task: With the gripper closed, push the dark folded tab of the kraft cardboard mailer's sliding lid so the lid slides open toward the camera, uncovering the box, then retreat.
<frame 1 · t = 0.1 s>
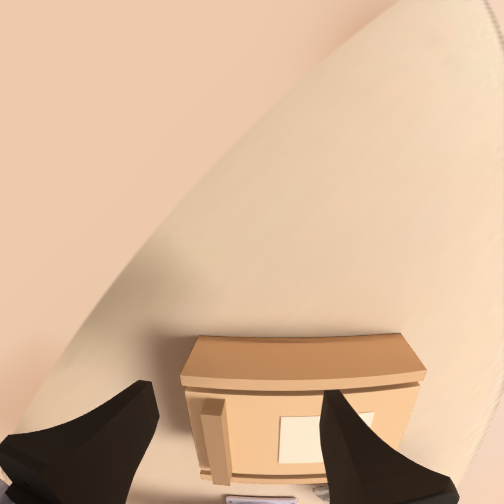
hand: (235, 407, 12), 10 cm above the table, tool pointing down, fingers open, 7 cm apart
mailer: (299, 396, 23), on the table
lid: (302, 446, 17), point 6 cm above the table, slide at 0.0 cm
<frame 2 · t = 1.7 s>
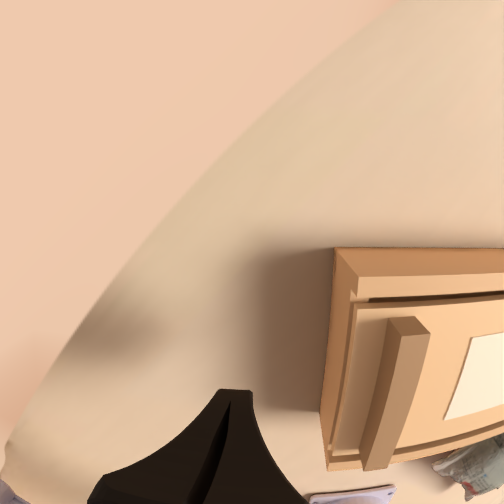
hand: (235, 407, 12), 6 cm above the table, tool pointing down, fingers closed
packaged food: (477, 444, 19), on the table
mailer: (441, 334, 16), on the table
lid: (484, 382, 11), point 6 cm above the table, slide at 0.0 cm
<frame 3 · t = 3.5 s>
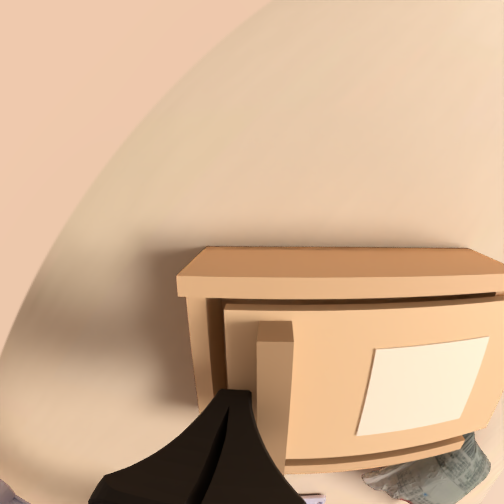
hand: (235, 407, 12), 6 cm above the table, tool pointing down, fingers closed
packaged food: (427, 457, 19), on the table
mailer: (343, 342, 17), on the table
lid: (399, 400, 11), point 6 cm above the table, slide at 1.6 cm, touching gripper
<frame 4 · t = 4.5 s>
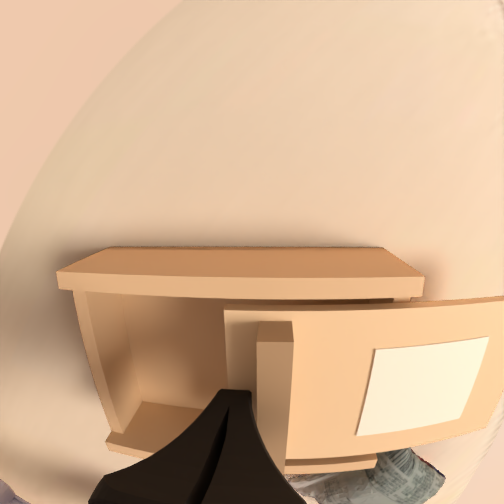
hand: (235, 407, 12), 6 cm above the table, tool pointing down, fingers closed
packaged food: (370, 466, 20), on the table
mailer: (242, 342, 17), on the table
lid: (399, 400, 11), point 6 cm above the table, slide at 7.4 cm, touching gripper
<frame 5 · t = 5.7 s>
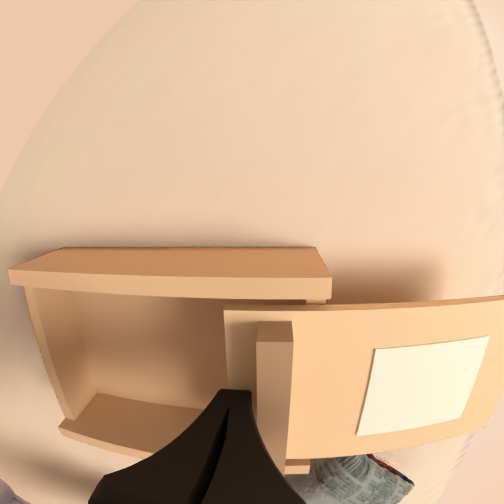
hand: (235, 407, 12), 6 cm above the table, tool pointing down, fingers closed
packaged food: (331, 468, 20), on the table
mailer: (180, 339, 18), on the table
lid: (400, 399, 11), point 6 cm above the table, slide at 11.0 cm, touching gripper
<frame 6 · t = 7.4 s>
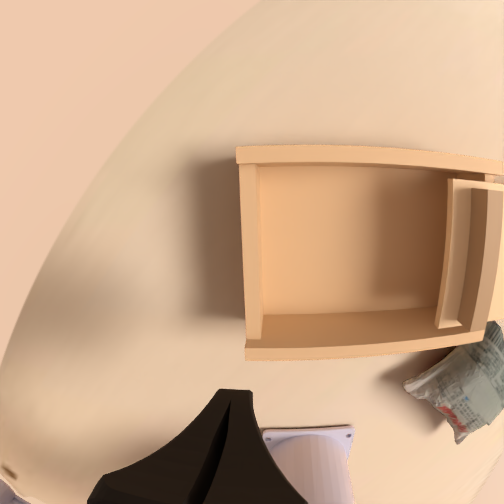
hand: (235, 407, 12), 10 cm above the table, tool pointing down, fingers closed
packaged food: (458, 373, 22), on the table
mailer: (364, 240, 20), on the table
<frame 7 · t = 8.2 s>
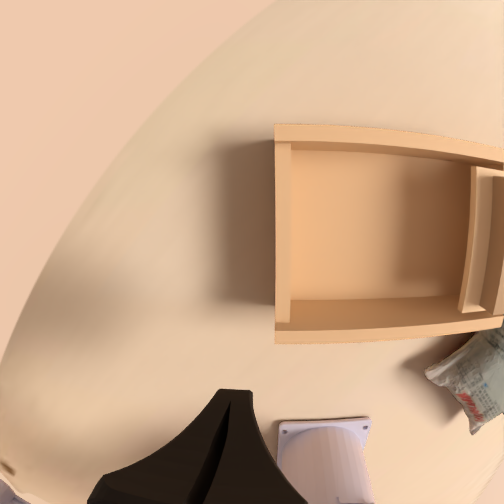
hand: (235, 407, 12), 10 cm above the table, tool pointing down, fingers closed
packaged food: (474, 363, 21), on the table
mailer: (388, 226, 19), on the table
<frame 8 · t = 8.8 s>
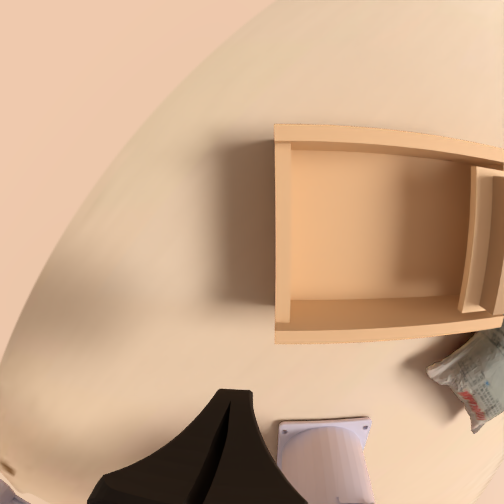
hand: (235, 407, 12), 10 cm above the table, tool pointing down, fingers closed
packaged food: (475, 361, 21), on the table
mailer: (388, 226, 19), on the table
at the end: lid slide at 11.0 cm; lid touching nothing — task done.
